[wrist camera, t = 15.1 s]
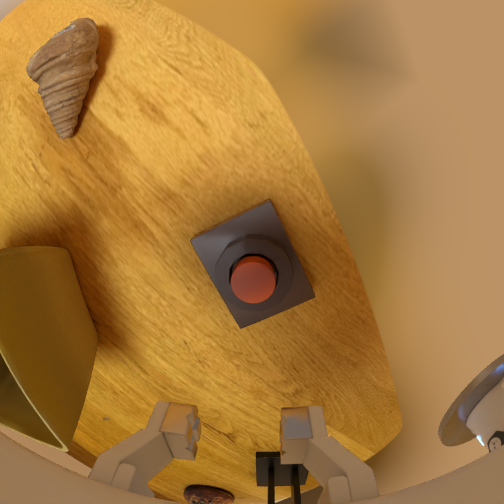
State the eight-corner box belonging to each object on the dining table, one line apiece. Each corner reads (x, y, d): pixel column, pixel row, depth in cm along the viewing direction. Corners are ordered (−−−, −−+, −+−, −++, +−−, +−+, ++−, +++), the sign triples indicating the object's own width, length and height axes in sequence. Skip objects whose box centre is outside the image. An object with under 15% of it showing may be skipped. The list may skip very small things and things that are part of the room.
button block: (312, 288, 28) (318, 305, 24) (242, 318, 30) (239, 338, 26) (269, 198, 26) (270, 202, 22) (195, 235, 27) (184, 245, 23)
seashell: (94, 126, 28) (128, 113, 24) (39, 152, 23) (61, 142, 19) (74, 33, 21) (106, 4, 17) (16, 49, 15) (36, 15, 11)
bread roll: (198, 480, 40) (197, 501, 36) (244, 491, 43) (245, 509, 39) (174, 489, 44) (172, 507, 39) (216, 500, 47) (216, 516, 42)
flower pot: (82, 213, 27) (-37, 256, 11) (130, 359, 32) (71, 456, 16) (-2, 242, 29) (-83, 280, 13) (40, 354, 34) (-17, 415, 18)
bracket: (256, 452, 37) (252, 523, 23) (312, 449, 36) (320, 520, 23) (257, 481, 40) (254, 540, 27) (304, 479, 39) (309, 537, 26)
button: (281, 284, 24) (282, 292, 23) (244, 300, 25) (243, 309, 23) (263, 248, 24) (263, 254, 22) (225, 266, 24) (222, 273, 23)
